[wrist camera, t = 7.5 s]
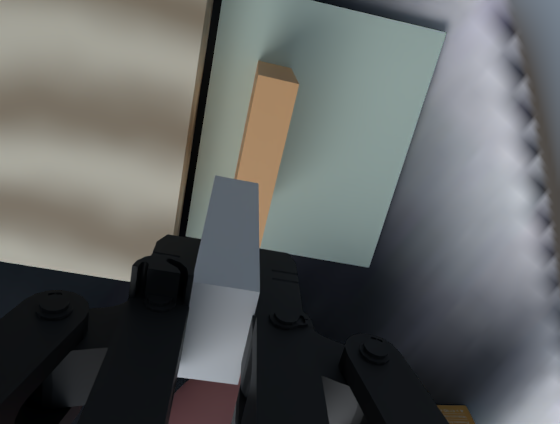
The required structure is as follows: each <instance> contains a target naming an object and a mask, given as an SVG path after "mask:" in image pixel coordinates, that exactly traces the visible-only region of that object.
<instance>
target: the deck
mask: <svg viewBox="0 0 560 424" xmlns="http://www.w3.org/2000/svg"><path fill="white" fill-rule="evenodd" d="M213 2H214V0H0V261H2V262H8V263H15V264H21V265H27V266H34V267H40V268H46V269H53V270H59V271H66V272H72V273H78V274H85V275H91V276H97V277H104V278H110V279H116V280H123V281H129V282H130V280H131V271H132V265H133V264H134V263H135V262H136V261H137V260H139V259H141V258H143V257H145V256H151V255H152V253H153V250H154V247H155V245H156V242H157V241H158V240H160V239H161V238H163V237H164V236H166V235H167V234H169V235H175V236H179V231H180V224H181V218H182V211H183V204H184V197H185V191H186V184H187V177H188V170H189V164H190V157H191V150H192V143H193V137H194V130H195V123H196V117H197V110H198V103H199V96H200V90H201V83H202V76H203V69H204V63H205V56H206V49H207V42H208V36H209V29H210V22H211V16H212V9H213Z"/></svg>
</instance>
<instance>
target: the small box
mask: <svg viewBox="0 0 560 424" xmlns="http://www.w3.org/2000/svg"><path fill="white" fill-rule="evenodd" d="M437 407H438V408H439V409H440V411H441V412H442V414H443V415H444V417H445V418H446V419H447V421H448V422H449V424H475V422H474V420H473V418H472V416H471V414H470V412H469V410H468V408H467V407H466V406H465V405H437Z"/></svg>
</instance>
